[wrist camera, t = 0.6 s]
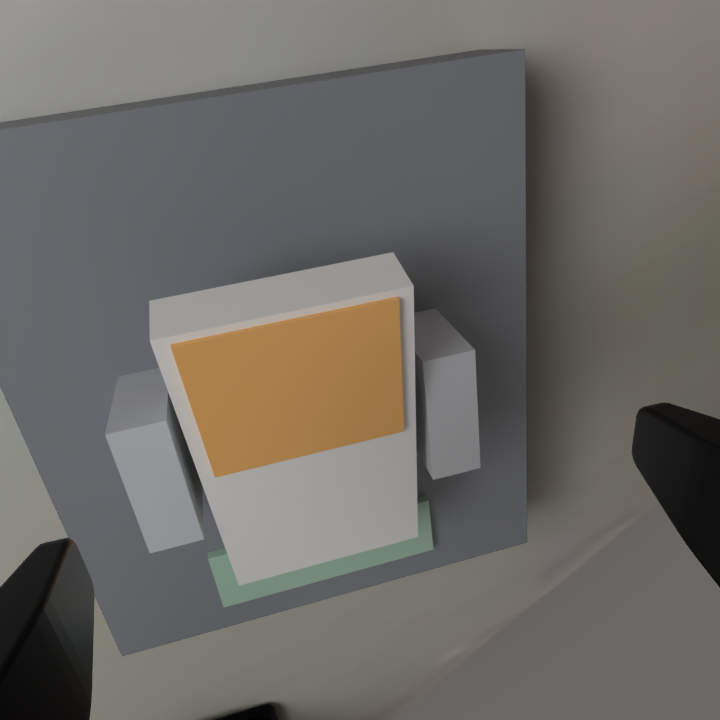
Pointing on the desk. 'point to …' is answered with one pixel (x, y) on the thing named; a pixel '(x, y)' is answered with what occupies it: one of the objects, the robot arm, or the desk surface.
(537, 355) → the desk surface
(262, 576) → the block
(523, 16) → the desk surface
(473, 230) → the box
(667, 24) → the desk surface
